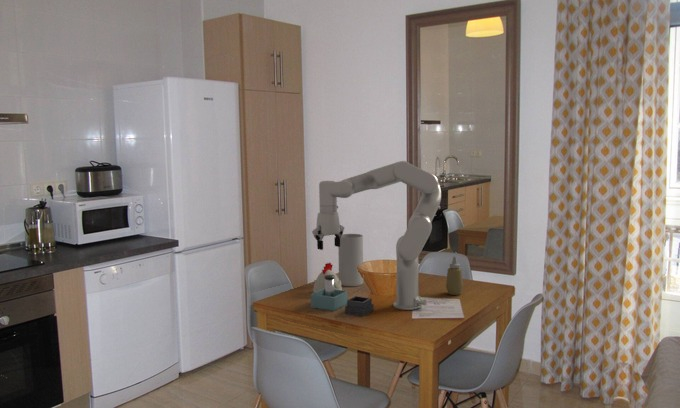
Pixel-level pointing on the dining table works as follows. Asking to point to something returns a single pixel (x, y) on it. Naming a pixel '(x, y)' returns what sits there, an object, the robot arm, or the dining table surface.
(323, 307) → the bin
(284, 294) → the dining table surface
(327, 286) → the pepper mill
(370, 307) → the square recessed block
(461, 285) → the squeeze bottle
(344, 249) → the cylinder vase
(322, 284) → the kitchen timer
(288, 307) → the dining table surface
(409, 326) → the dining table surface
